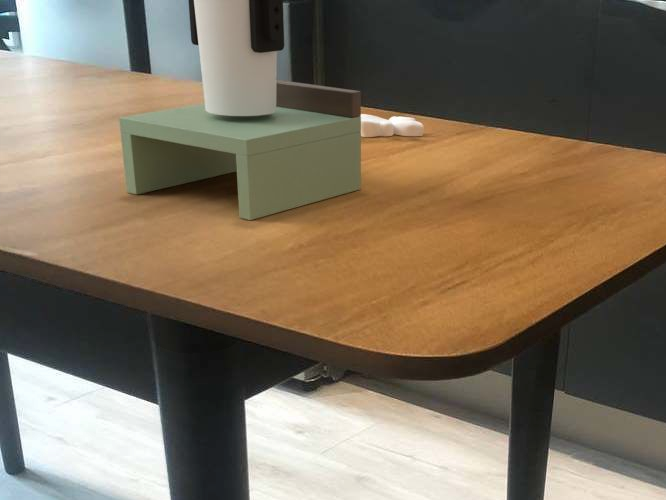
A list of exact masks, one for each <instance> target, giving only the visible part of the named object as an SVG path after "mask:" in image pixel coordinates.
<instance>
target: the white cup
mask: <svg viewBox="0 0 666 500" xmlns="http://www.w3.org/2000/svg"><path fill="white" fill-rule="evenodd" d="M194 7H195V16H196V25H197V35H198V44H199V45H198V51H199V52H198V53H199V61H200V70H201V81H202V89H203V100H204V104H205V110H206V111H207V112H209V113H213V114H217V115H227V116H259V115H266V114H271V113H274V112H276V80H277V76H278V75H277V71H278V70H277V68H278V64H277V63H278V62H277V61H278V60H277V59H278V51H272V52H264V53H257V52H254V51H253V50H252V48H251V32H250V10H249V0H194Z"/></svg>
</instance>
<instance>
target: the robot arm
mask: <svg viewBox="0 0 666 500" xmlns="http://www.w3.org/2000/svg"><path fill="white" fill-rule="evenodd" d="M249 10H250V32H251V48H252V50H253V51H254V52H257V53H264V52H272V51H277V52H279V51H283V50H284V48H285V26H284V25H285V24H284V23H285V22H284V21H285V20H284V0H249ZM188 13H189V29H190V41H191V44H192V45H194V46H199V44H198V35H197V25H196V16H195V7H194V0H188Z"/></svg>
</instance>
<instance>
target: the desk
mask: <svg viewBox="0 0 666 500" xmlns="http://www.w3.org/2000/svg"><path fill="white" fill-rule="evenodd" d="M361 95H362V92H361V91H360V90H355V89H348V88H347V89H346V88H340V87H332V86H325V85H318V84H312V83H311V84H310V83H303V82H298V81H297V82H296V81H290V80H289V81H288V80H282V79H276V112H274V113H271V114H266V115H259V116H227V115H217V114H213V113H209V112H207V111H206V110H205V103H199V104H193V105H192V104H191V105H186V106H180V107H174V108H169V109H162V110H155V111H150V112H143V113H138V114H130V115H125V116H120V117H118V121H119V130H120V131H119V132H120V139H121V149H122V159H123V160H122V161H123V168H124V169H123V171H124V180H125V187H126V188H125V189H126V193H128V194H131V195H136V196H137V195H140V194H146V193H149V192H154V191H158V190H163V189H166V188H172V187H176V186H180V185H184V184H185V185H186V184H188V183H193V182H197V181H202V180H207V179H211V178H214V177H215V178H216V177H218V176H222V175H228V174H231V173H236V179H237V181H236V182H237V201H238V217H239V218H240V219H242V220H248V221H253V220H256V219H260V218H263V217H267V216H271V215H274V214H278V213H281V212H285V211H288V210H293V209H296V208H299V207H303V206H306V205H310V204H313V203H317V202H320V201H323V200H329V199H331V198H334V197H338V196H341V195H345V194H349V193H352V192H356V191H359V190H361V189H362V136H361V132H360V131H361V117H360V116H361V114H362V99H361V98H362V96H361Z"/></svg>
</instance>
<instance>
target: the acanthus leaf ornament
mask: <svg viewBox="0 0 666 500" xmlns="http://www.w3.org/2000/svg"><path fill="white" fill-rule="evenodd" d="M360 117H361V131H360V132H361V138H362V137H363V138H373V137H374V138H375V137H392V136H394V135H397V136H401V137H402V136H403V137H423V134H424V129H425V128H424V127H425V126H424V124H423V123H422V122H420V121H417V120H416V118H414V117H409V116H400V115H399V116H396V115H395V116H391V117H390V118H389V119H387V118H383V117H380V116H376V115H372V114H366V113H361V116H360Z"/></svg>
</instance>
